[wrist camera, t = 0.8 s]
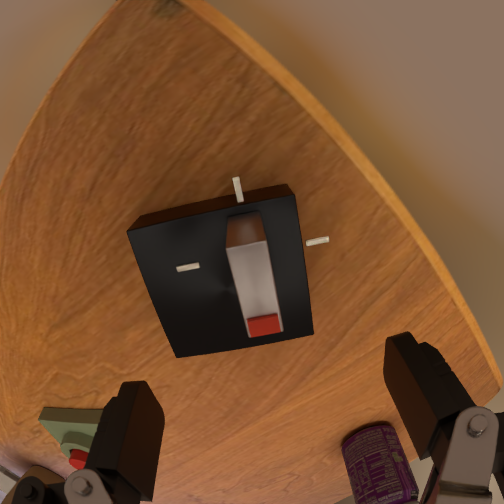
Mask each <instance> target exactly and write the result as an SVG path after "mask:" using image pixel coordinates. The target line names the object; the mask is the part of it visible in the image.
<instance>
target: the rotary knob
mask: <svg viewBox="0 0 504 504" xmlns="http://www.w3.org/2000/svg"><path fill="white" fill-rule="evenodd" d="M226 253H227V257H228V261H229V265H230V269H231V272H232V276H233V280H234V284H235V288H236V292H237V296H238V299H239V303H240V307H241V311H242V315H243V318H244V322H245V326H246V330H247V333H248V337H257V336H262V335H268V334H273V333H278V332H282V331H283V330H284V329H283V323H282V318H281V312H280V307H279V302H278V296H277V291H276V286H275V280H274V275H273V270H272V265H271V260H270V254H269V249H268V244H267V239H266V235H265V231H264V227H263V223H262V219H261V215H260V211H255V212H250V213H245V214H240V215H235V216H231V217H228V224H227V237H226Z"/></svg>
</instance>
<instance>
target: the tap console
mask: <svg viewBox="0 0 504 504" xmlns="http://www.w3.org/2000/svg"><path fill="white" fill-rule="evenodd" d="M232 179H233V184H234V188H235V193H236V194H232V195H228V196H223V197H218V198H214V199H209V200H205V201H200V202H196V203H192V204H187V205H183V206H179V207H175V208H170V209H166V210H162V211H158V212H154V213H150V214H146V215H142V216H140V217H139V218H138V219H137V220H136V221H135V222H134V223H133V224H132V226H131V227H130V228H129V229H128V230H127V235H128V238H129V240H130V243H131V246H132V249H133V252H134V255H135V258H136V260H137V263H138V266H139V269H140V271H141V274H142V277H143V279H144V282H145V285H146V287H147V290H148V292H149V295H150V297H151V300H152V302H153V305H154V307H155V310H156V312H157V315H158V317H159V319H160V322H161V324H162V326H163V329H164V331H165V333H166V336H167V338H168V340H169V343H170V345H171V347H172V349H173V352H174V354H175V356H176V358H182V357H190V356H197V355H204V354H211V353H218V352H224V351H230V350H236V349H242V348H248V347H254V346H259V345H265V344H270V343H275V342H280V341H285V340H290V339H295V338H300V337H304V336H309V335H313V334H314V330H313V321H312V313H311V304H310V296H309V288H308V281H307V273H306V266H305V259H304V252H303V245H302V238H301V231H300V224H299V218H298V212H297V205H296V199H295V195H294V193H293V192H292V190H291V189H290V188H289V186H288V185H287V184H282V185H277V186H272V187H267V188H262V189H257V190H252V191H247V192H242V188H241V184H240V179H239V176H238V177H233V178H232ZM255 211H260V215H261V219H262V223H263V227H264V231H265V235H266V239H267V244H268V249H269V254H270V260H271V265H272V270H273V275H274V280H275V286H276V291H277V296H278V302H279V307H280V312H281V318H282V323H283V329H284V330H283V331H282V332H278V333H273V334H268V335H262V336H257V337H248V333H247V330H246V326H245V322H244V318H243V315H242V311H241V307H240V303H239V299H238V296H237V292H236V288H235V284H234V280H233V276H232V272H231V269H230V265H229V261H228V257H227V253H226V237H227V224H228V217H231V216H235V215H240V214H245V213H250V212H255ZM325 242H329V236H328V235H327V236H322V237H317V238H312V239H308V240H306V246H311V245H315V244H320V243H325Z"/></svg>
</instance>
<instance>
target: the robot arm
mask: <svg viewBox="0 0 504 504" xmlns="http://www.w3.org/2000/svg"><path fill="white" fill-rule="evenodd" d="M383 374H384V380H385V383H386V386H387V388H388V390H389V392H390V395H391V397H392V399H393V401H394V403H395V405H396V407H397V409H398V412H399V414H400V416H401V418H402V420H403V422H404V425H405V427H406V429H407V431H408V433H409V436H410V438H411V440H412V442H413V445H414V447H415V449H416V452H417V454H418V456H419V459H420V460H423V459H425V458H428V457H430V456H431V458H432V460H433V462H434V464H433V467H432V470H431V473H430V476H429V479H428V481H427V484H426V487H425V489H424V492H423V495H422V498H421V500H420V502H419V504H491V502H492V492H490V491H489V482H490V477H491V474H492V473H493V474H494V476H495V479H496V481H497V483H498V486H499V488H500V491H501V493H502V496H503V498H504V412H502V413H493V412H492V411H491V410H489V409H487V408H485V407H481V406H477V405H476V404H475V403H474V402H473V400H472V399H471V397H470V396H469V394H468V393H467V391H466V390H465V388H464V387H463V385H462V384H461V382H460V381H459V379H458V378H457V376H456V375H455V374H454V372H453V371H451V368H450V366H449V365H448V363H447V362H445V359H444V358H443V356H442V355H441V354H440V352H439V351H438V349H436V348H434V347H433V346H431V345H430V344H428V343H427V342H423V343H420V344H418V343H417V341H416V340H415V338H414V337H413V336H412V334H411V333H410V332H408V331H407V332H404V333H400V334H397V335H394V336H390V337H387V339H386V343H385V356H384V367H383ZM164 425H165V417H164V412H163V409H162V407H161V406H160V404H159V402H158V401H157V399H156V397H155V396H154V394H153V392H152V391H151V389H150V387H149V385H148V384H147V382H145V381H130V382H123V383H122V385H121V387H120V390H119V393H118V396H117V397H112V398H111V400H110V401H109V402H108V403H107V405H106V406H105V407H104V409H103V412H102V415H101V417H100V422H99V423H98V426H97V432H95V435H94V438H93V441H92V444H91V447H90V450H89V453H88V456H87V459H86V463H85V466H84V468H83V469H79V470H77V471H75V472H73V473H72V474H70V476H69V477H68V478H67V480H66V482H61V483H54V484H45V483H44V482H43V481H41V480H40V479H39V478H37V477H35V476H28V477H25V478H23V479H22V480H21V481H20V482H19V483H18V485H17V487H16V489H15V492H14V496H13V499H12V502H11V504H140V501H151V502H152V499H153V492H154V486H155V479H156V472H157V466H158V460H159V454H160V448H161V442H162V436H163V430H164Z"/></svg>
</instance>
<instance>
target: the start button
mask: <svg viewBox="0 0 504 504" xmlns="http://www.w3.org/2000/svg"><path fill="white" fill-rule="evenodd" d="M87 456H88V452H85V451H83V450H80V449H73V450H72V452H71V455H70V458H69V463H70V464H71V465H72V466H73V467H74V468H76V469H78V470H79V469H83V468H84V466H85V463H86V459H87Z"/></svg>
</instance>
